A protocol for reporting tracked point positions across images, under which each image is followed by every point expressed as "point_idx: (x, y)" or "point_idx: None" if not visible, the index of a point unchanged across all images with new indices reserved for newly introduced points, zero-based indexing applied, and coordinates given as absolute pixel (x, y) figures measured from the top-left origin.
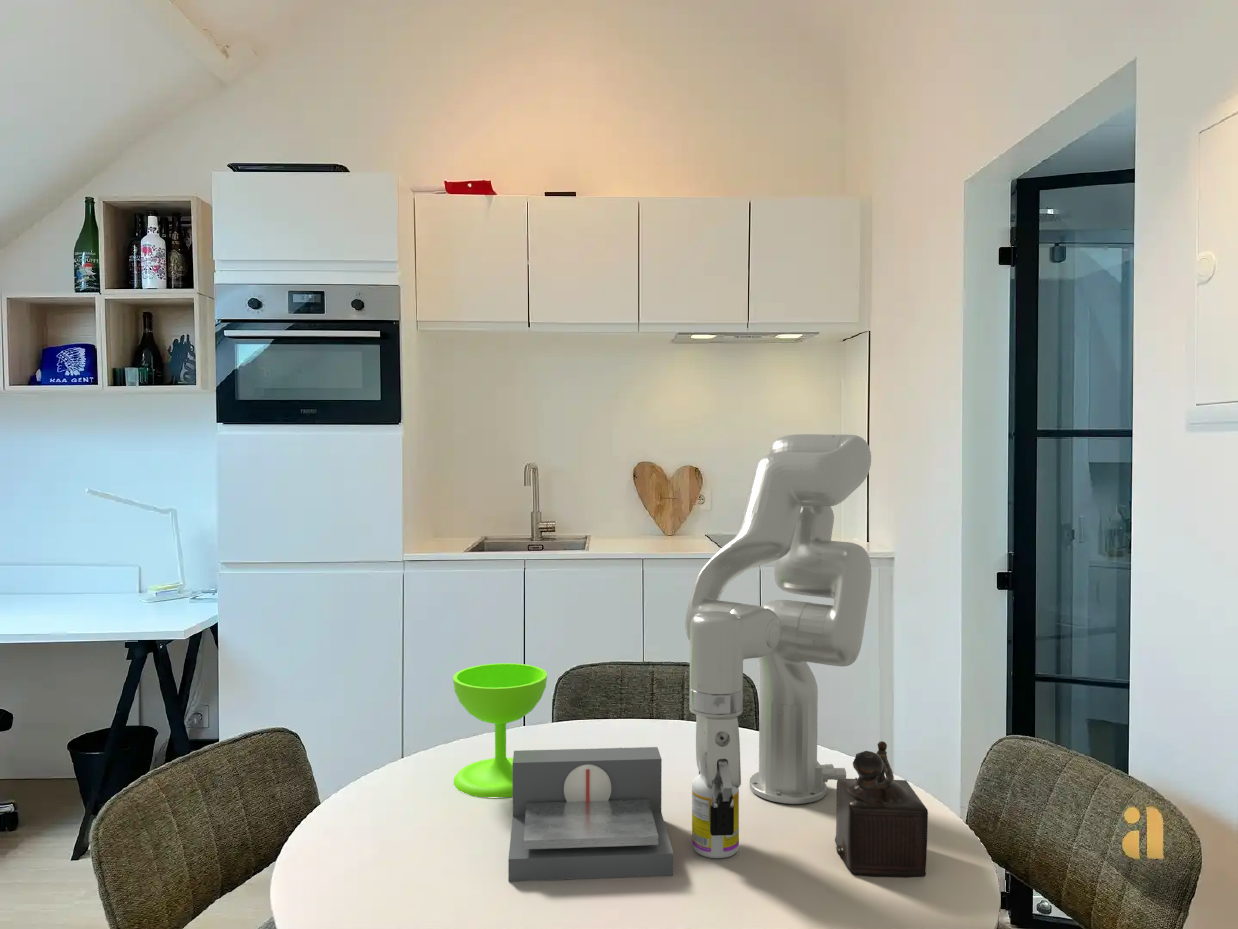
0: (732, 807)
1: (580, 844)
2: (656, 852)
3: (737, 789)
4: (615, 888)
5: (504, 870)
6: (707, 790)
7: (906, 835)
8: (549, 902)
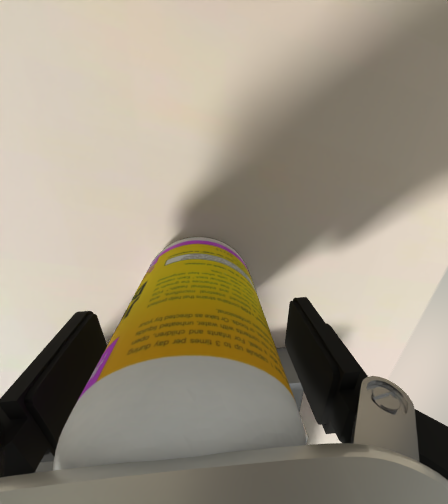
0: (389, 384)
1: None
2: (296, 403)
3: (247, 381)
4: (308, 403)
5: None
6: None
7: None
8: None
